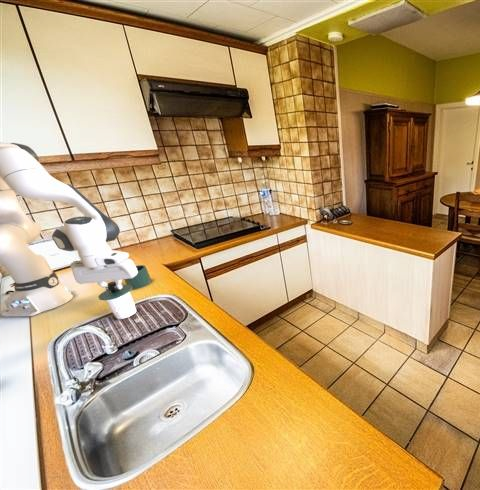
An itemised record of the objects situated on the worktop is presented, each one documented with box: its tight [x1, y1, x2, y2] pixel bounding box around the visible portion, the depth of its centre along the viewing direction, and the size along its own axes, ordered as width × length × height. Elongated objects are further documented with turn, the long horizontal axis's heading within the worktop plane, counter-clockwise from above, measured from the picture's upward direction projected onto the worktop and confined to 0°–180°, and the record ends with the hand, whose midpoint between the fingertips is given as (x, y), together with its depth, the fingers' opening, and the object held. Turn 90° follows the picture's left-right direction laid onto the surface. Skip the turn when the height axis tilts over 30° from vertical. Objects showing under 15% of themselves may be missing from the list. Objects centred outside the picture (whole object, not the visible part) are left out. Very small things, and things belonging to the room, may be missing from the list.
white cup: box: [104, 291, 137, 320], centre depth 109 cm, size 8×8×10 cm
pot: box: [123, 264, 152, 290], centre depth 133 cm, size 9×9×8 cm
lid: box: [97, 281, 133, 301], centre depth 107 cm, size 10×10×5 cm
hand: (114, 289), depth 107 cm, fingers closed on lid, 2 cm apart
